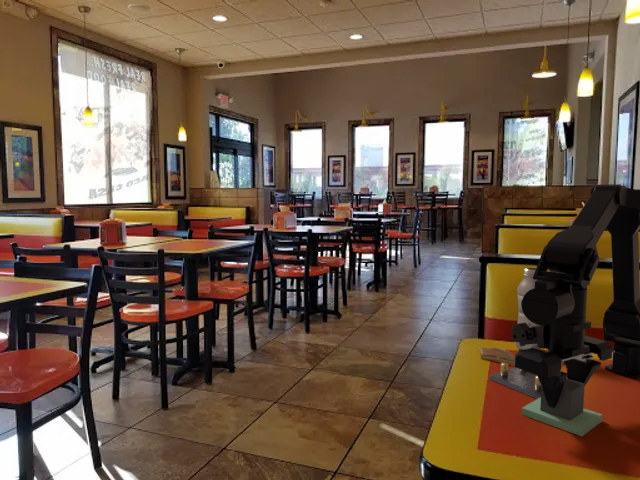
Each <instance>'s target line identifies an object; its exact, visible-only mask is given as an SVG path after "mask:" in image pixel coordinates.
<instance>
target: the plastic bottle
mask: <svg viewBox="0 0 640 480" xmlns="http://www.w3.org/2000/svg"><path fill="white" fill-rule="evenodd" d="M536 268H537V267H524V269H523V277H524V278H523V279H522V280H521V282H520V283H519V285H517V288H516V294H517V295H516V296H517V305H518V315H517V316H518V317H517V324H518V323H527V325H528V326H532V325H537V324H535V323H532V322H531V321H530V320H528V319H527V318H526V316H525V315H524V313H523V311H522V306H521V302H522V300H523V297H524V295H525V294H526V293H527V292H528V291H529V290H531V289H534V288H535V281H536V280H534V279H533V276H534V273H535V270H536ZM514 344H515V346H516V348H517V349H519V350H520V351H522V350H526V349H530V348H535V349H538V350H541V349H542V348H539V347H537V344H528V345H525V346H520V345H519V342H515V341H514Z"/></svg>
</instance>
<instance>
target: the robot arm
mask: <svg viewBox="0 0 640 480" xmlns="http://www.w3.org/2000/svg"><path fill="white" fill-rule="evenodd" d="M605 230H606V231H608V233H609V234H610V241H611V242H610V243H611V245H610V246H611V265H612V266H611V267H612V269H611V270H612V271H611V272H612V292H613V293H612V294H613V295H612V296H613V297H612V299H613V301H612V302H611V303H610V305H609V306H608V307H607V309H606V311H605V312H604V313H603V315H604V316H603V319H602V328H603V329H602V330H603V339H599V338H596V337H593V336H592V337H591V336H589V335H586V330H588V329H591V328H592V322H591V321H589V320H587V319H586V318H587V303H588V302H587V301H588V300H587V299H588V286H590V284H591V282H592V280H593V279H592V278H593V277H594V275H595V272H596V270H597V267H598V265H599V262H600V256H599V252H598V247H597V244H598V242H599V240H600V239H601V237H602V235H603V234H604V233H605ZM639 232H640V188H638V189H636V188H630V187H627V186H625V185H621V184H619V183H617V184H616V183H614V184H612V183H611V184H607V183H606V184H597V185H594V186H593V187H591V191H590V196H589V197H588V199H587V200H586V202H585V204H584V205H583V206H582V208H581V210H580V212H579V213H578V214H577V216H576V218H574V220H573V222H572V223H571V225H570V226H569V227H568V228H566V229H564V230H561V231H558V232H557V233H555V234H554V235H553V236H552V238H551V239H549V241H548V242H547V244H546V245H544V247H543V249H542V251H541V255H540V257H539V260H538V262H537V265H536V267H535V268H536V270H535V273H534V276H533V279H534V280H536V281H535V288H534V289H531V290H529V291H528V292H527V293H526V294H525V295H524V297H523V300H522V302H521V306H522V311H523V313H524V315H525V316H526V318H527V319H528V320H530V321H531V322H532V323H535V324H537V325H532V326H528V325H527V323H518V322H517V323H514V324H513V325H512V329H511V338H512V340H513V341H514V343H515V342H519V345H520V346H525V345H528V344H537V347H539V348H541V349H542V350H541V349H540V350H538V349H535V348H530V349H526V350H519V351H518V352H516V353H515V354H514V356H515V361H514V366H513V367H514V368H515V367H516V368H519V369H521V370H524V371H527V372H529V373H532V374H535V375H537V376H538V378H539V380H540V383H541V386H542V389H543V392H544V395H545V398H546V401H547V404H548V406H549V407H551V408H555V406H556V404H557V402H558V400H559V397H560V394H561V392H562V389H563V386H564V384H565V381H566V379H570V380H574V381H577V382H581V383H584V384H585V386H586V385H587V384H588V382H589V381H590V379H591V378H592V376H593V375H594V374H595V372H596V370H597V369H598V368H599V367H601V366H602V362H601V361H608V360H610V359H611V361H612V362H611V364H609V365H606V366H604V369H605V370H607V371H611V372H613V373H616V374H620V375H623V376H626V377H629V378H632V379H638V378H640V245H639V243H640V242H639V240H640V239H639V238H640V237H639ZM610 343H613V345H611V344H610ZM612 346H613V347H612ZM543 349H544V350H543ZM545 349H546V350H547V351H545ZM593 354H595V355H597V358H598V360H600V361H598V360H595V359H594V356H593ZM563 363H564V365H565V366H566V372H565V371H563V370H562V366H563ZM561 370H562V371H563V372H562V371H561Z"/></svg>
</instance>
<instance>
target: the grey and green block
mask: <svg viewBox="0 0 640 480" xmlns="http://www.w3.org/2000/svg"><path fill="white" fill-rule="evenodd" d="M585 387H586V385H585V384H584V383H581V382H577V381H574V380H570V379H566V381H565V384H564V386H563V389H562V392H561V394H560V397H559V400H558V402H557V404H556V406H555V408H551V407H549V406H548V404H547V401H546V398H545V395H544V392H543V389H542V386H541V397H540V398H538V399H535V400H533V401H532V402H529V403H528V404H526V405H525V406H523V407H521V415H522V416H524V417H527V418H530V419H532V420H536V421H538V422H541V423H544V424H547V425H550V426H552V427H555V428H558V429H560V430H563V431H566V432H569V433H571V434H574V435H576V436H580V437H583V436H585V435H587V434H588V433H589V432H590V431H591V430H592V429H594V428H596V426H598V425H599V424H600V423H602V422H603V414H602V413H600V412H596V411H594V410H590V409H588V408H584V407H585V402H584V401H585V399H584V398H585Z"/></svg>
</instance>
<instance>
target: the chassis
mask: <svg viewBox="0 0 640 480" xmlns="http://www.w3.org/2000/svg"><path fill="white" fill-rule="evenodd" d="M561 371H562V372H564V371H563V370H562V369H561ZM488 378H489V380H490V381H493V382H495V383H498V384H500V385H503V386H505V387H507V388H510V389H511V390H514V391H517V392H519V393H522V394H523V395H526V396H529V397H531V398H533V397H534V399H535V400H537V399H538V398H540V397H541V383H540V380H539V378H538V376H537V375H535V374H532V373H529V372H527V371H524V370H521V369H519V368H516V367H515V366H514V367H512V368H509V365H508V364H507V363H500V371H498V372H494V373H489V377H488Z"/></svg>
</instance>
